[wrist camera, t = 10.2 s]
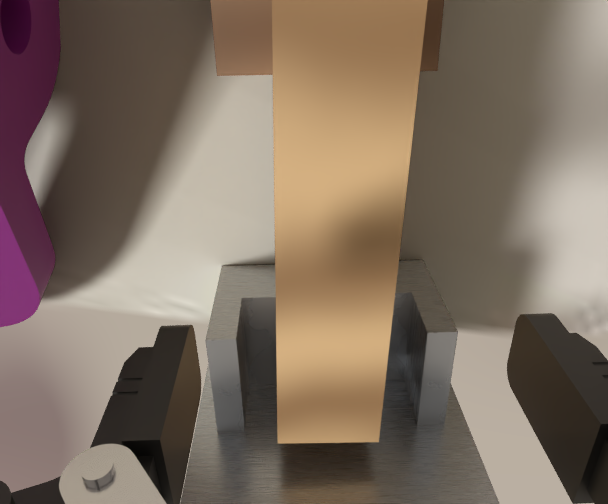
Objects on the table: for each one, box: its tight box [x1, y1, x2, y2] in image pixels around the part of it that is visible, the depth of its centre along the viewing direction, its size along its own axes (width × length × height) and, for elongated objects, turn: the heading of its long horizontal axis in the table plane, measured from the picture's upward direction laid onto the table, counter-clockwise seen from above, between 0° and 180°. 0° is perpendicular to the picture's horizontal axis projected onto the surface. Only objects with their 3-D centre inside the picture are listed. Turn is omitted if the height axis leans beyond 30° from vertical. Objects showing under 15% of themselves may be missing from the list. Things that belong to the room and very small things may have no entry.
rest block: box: [210, 0, 444, 76], centre depth 19 cm, size 4×8×3 cm, turn 91°
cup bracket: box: [180, 260, 499, 504], centre depth 23 cm, size 6×12×10 cm, turn 91°
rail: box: [272, 0, 428, 444], centre depth 19 cm, size 16×4×5 cm, turn 179°
